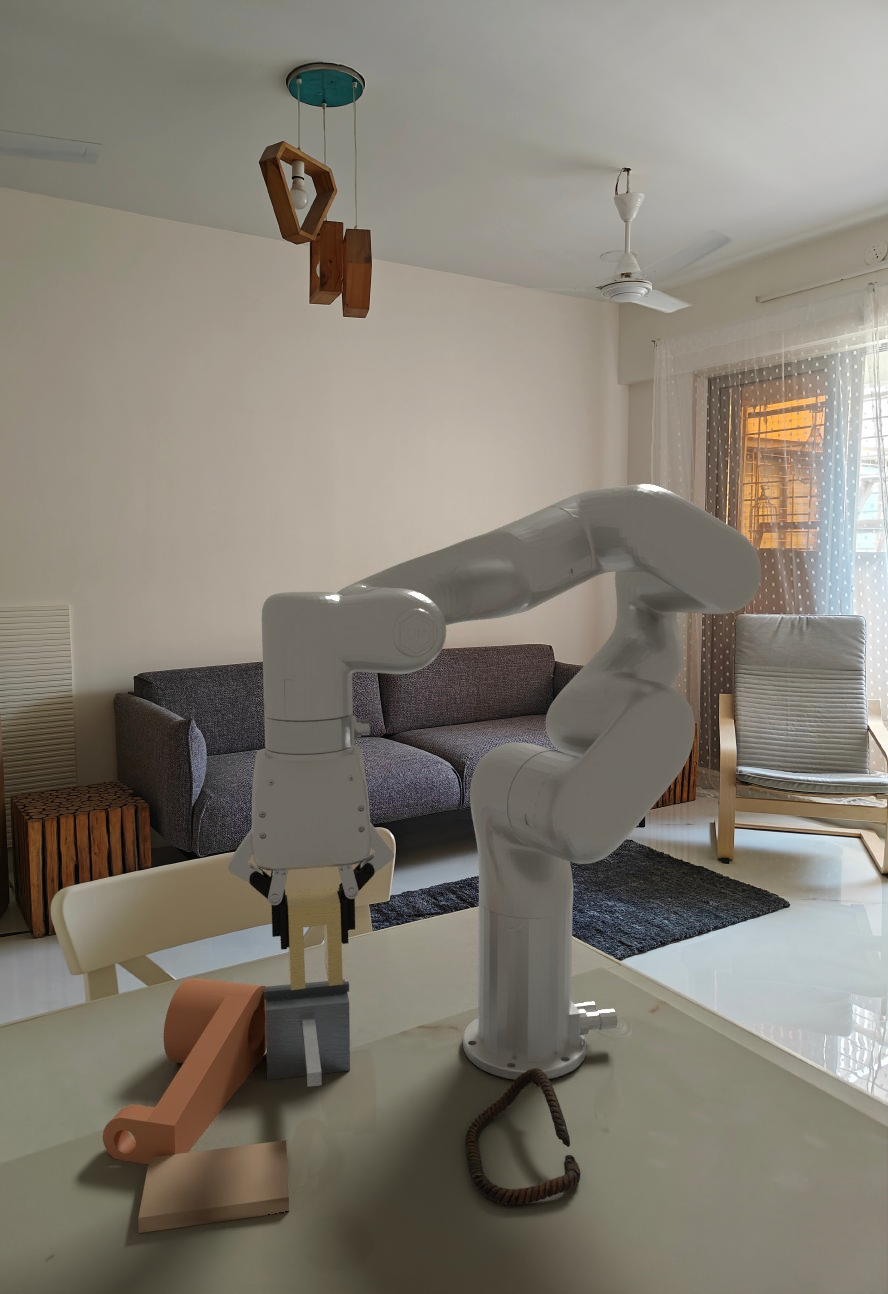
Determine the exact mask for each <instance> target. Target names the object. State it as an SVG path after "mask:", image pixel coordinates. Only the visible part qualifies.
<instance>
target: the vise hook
mask: <svg viewBox="0 0 888 1294" xmlns="http://www.w3.org/2000/svg"><path fill="white" fill-rule="evenodd" d="M348 992H350V981H349V980H348V981H346V980H345V979H343V984H340V985H332V986H329V984H328V980H323V981H315V982H305V989H297V990H291V983H290V984H281V985H271V986H266V989H264V1000H266V1044H267V1048H266V1080H267V1081H270V1080H278V1079H289V1078H297V1077H306V1084H307V1086H306V1087H317V1086H322V1075H324V1074H332V1073H333V1072H334V1073H341V1072H348V1071H349V1072H350V1071H351V1053H350V1052H351V1043H350V1041H351V1039H350V1037H351V1036H350V1033H351V1032H350V1026H351V1025H350V999H349V994H348ZM334 1073H333V1074H334Z"/></svg>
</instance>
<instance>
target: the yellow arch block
mask: <svg viewBox="0 0 888 1294" xmlns="http://www.w3.org/2000/svg"><path fill="white" fill-rule="evenodd" d="M337 891H338V890H337V887H325V888H315V889H304V890H302V889H301V890H294V891H292V890H291V891H286V895H287V902H288V922H289V947H288V964H289V965H288V968H289V970H288V971H289V980H290V984H291V990H297V989H305V983H306V969H305V968H306V967H305V965H306V964H305V944H304V943H305V940H304V928H311V927H319V926H323V938H324V939H323V941H324V943H323V944H324V966H325V972H326V973H325V974H326V978H327V981H328V984H329V986H332V985H340V984H343V980H344V979H343V978H344V977H343V950H342V949H343V948H342V945H343V944H342V943H341V912H340V900H339V897H338V893H337Z"/></svg>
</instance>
